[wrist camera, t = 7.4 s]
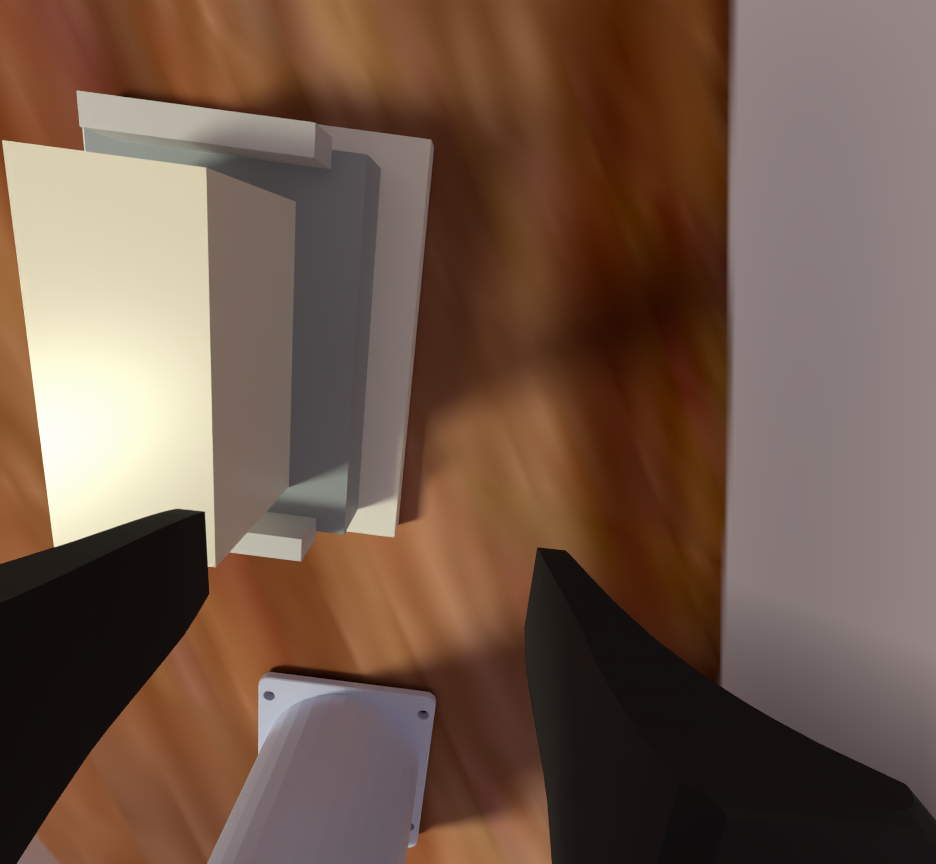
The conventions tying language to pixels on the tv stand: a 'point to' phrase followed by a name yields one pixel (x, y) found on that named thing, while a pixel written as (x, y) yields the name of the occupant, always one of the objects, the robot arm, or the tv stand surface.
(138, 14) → the tv stand surface
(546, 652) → the robot arm
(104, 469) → the cream rectangular box
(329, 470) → the display stand
